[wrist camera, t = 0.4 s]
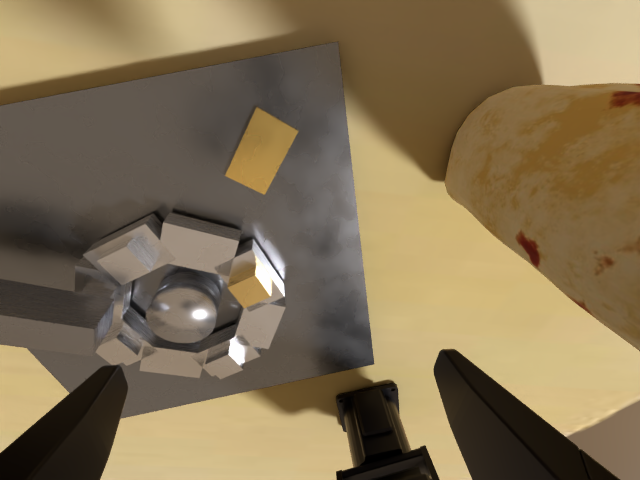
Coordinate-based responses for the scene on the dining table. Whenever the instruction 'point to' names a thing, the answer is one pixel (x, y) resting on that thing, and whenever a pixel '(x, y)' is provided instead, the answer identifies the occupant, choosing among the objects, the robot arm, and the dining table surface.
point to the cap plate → (197, 209)
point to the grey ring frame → (130, 327)
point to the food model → (561, 189)
